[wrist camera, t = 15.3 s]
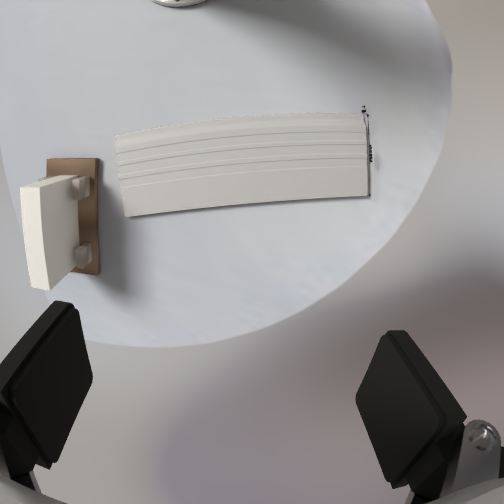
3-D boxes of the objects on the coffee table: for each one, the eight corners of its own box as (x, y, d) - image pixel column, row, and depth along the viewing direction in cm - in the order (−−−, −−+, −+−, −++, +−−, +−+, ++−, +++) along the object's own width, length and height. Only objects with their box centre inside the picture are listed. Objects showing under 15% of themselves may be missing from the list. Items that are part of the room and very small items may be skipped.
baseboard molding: (116, 124, 33) (129, 214, 38) (108, 124, 31) (121, 220, 35) (360, 104, 34) (363, 193, 38) (369, 102, 31) (372, 198, 36)
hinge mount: (50, 158, 34) (34, 161, 30) (98, 158, 34) (84, 161, 30) (56, 266, 39) (43, 277, 35) (100, 272, 40) (89, 284, 36)
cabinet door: (54, 175, 33) (14, 187, 25) (77, 175, 34) (39, 187, 25) (58, 258, 38) (25, 285, 29) (81, 261, 38) (50, 290, 30)
